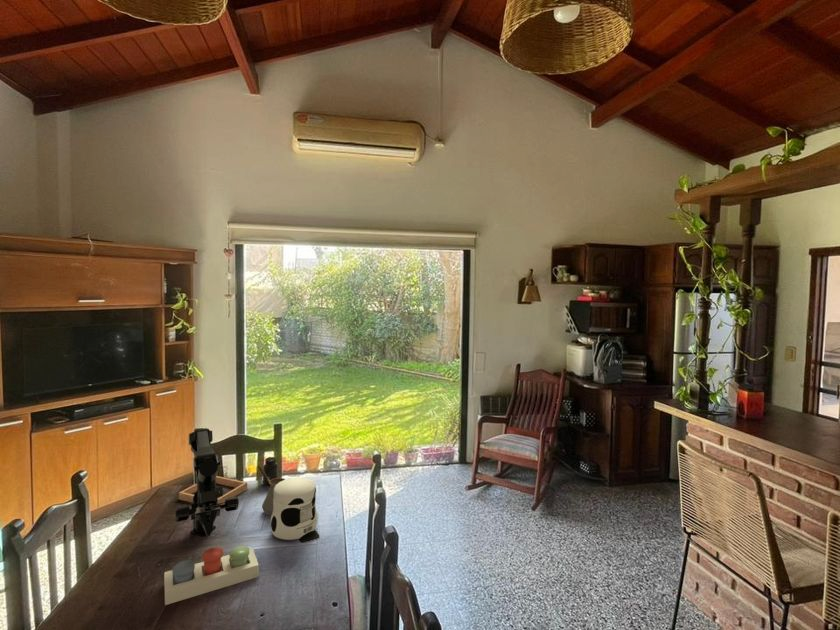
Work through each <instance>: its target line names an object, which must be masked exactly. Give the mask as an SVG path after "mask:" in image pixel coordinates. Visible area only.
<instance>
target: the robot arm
mask: <svg viewBox="0 0 840 630" xmlns="http://www.w3.org/2000/svg"><path fill="white" fill-rule="evenodd" d="M213 440H214V439H213V430H210V429H209V428H208V427H204V428H197V429H195V430H194V431H193V432H190V433H189V434H188V446H190V451H191V453H192V454H193V455H194V456H195V457H193V459H192V460H193V463H192V465H193V470H194V471H195V476H196V478H195V479H196V484H197V491H196V492H194V494H193V495H194V497H193V503H191V502H190V505H186V506H180V507H177V508H176V509H175V523H180V522H184V521H187V520H188V519H189V518H190V521H193V526H192V527H193V528H192V529H191V530H190V531H189V533H190V534H192V535H197V536H200V537H204V536H206V537H211V533H212V531H213V530H215V529H216V527H217V526H216V525H214V523H215V521H216V518H217V517H220V516H221V510H223V509H224V511H226V512H234V511H236V510H238V509H239V505H240V503H239V498H238V496H235V497H232V498H227V499H226V500H225V502H224V503H219V504H218V498H220V497H222V496H223V495H224V493H223V492H224V489H223V486H217V483H216V476H218V470H219V466H221V460H220V457H219V455H218V454H216V451H215V449H214V448H212V447H211V445H212V444H211V443H212V442H213Z"/></svg>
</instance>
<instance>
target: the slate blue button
mask: <svg viewBox="0 0 840 630" xmlns="http://www.w3.org/2000/svg"><path fill="white" fill-rule="evenodd" d="M195 564H196V563H195V562H194V561H193V560H183V561H180V562H178V563H176V564H175V565H174V566H173V567H172V569H171V570H172V574H173V575H174V576H175V585H176V584H180V583H183V582H187V581H190V580H192V571H193V570H194V568H195Z"/></svg>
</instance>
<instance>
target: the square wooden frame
mask: <svg viewBox="0 0 840 630" xmlns="http://www.w3.org/2000/svg"><path fill="white" fill-rule="evenodd" d="M217 484H218V485H223V486H227V487H232V488H233V489H231V490H230V491H228V492H226V493H225V494H223V496H222V497H218V504H219V503H224V502H225V500H226V499H227V498H232V497H238V495H240V494H242V493H243V492H245V491H246V490H247V489H248V482H247V481H242V480H238V479H232V478H228V477H223V476H218V475H216V485H217ZM196 491H197V483H195V484H193V485H191V486H189V487H187V488H185V489H183V490H181V491H179V492H178V500H179V501H182V502H183V501H184V502H188V503H190V504H191V503H193V497H194V495H195V493H196Z"/></svg>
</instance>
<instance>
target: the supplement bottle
mask: <svg viewBox="0 0 840 630" xmlns="http://www.w3.org/2000/svg"><path fill="white" fill-rule="evenodd" d="M264 461H265V462H264V464H263V466H262V470H263V471H264V472H265V473H266V475H267V477H268V478H269V480H272V479H275V478H279V477H278V476H279V464H278V463H277V457H274V456H268V457H266V458H265V460H264ZM262 485H263V486H264V487H271V486H270V484H269V482H268V480H267V479H266V478H265V477H264V476H263V475H262Z"/></svg>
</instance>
